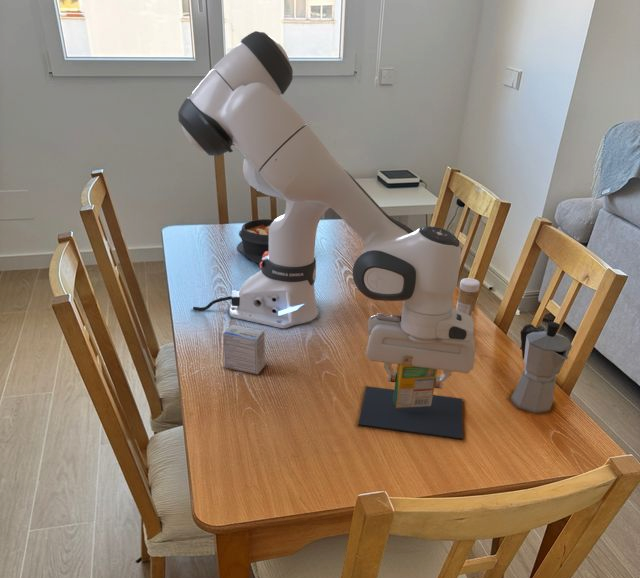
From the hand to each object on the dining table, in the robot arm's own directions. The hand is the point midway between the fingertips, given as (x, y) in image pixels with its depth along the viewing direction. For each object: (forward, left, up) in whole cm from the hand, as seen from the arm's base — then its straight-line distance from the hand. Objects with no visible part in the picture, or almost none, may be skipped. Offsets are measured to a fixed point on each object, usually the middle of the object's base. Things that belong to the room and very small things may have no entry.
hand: (415, 383), depth 122 cm
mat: (0, 0, -7) cm, 7 cm away
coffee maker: (+24, +11, -7) cm, 28 cm away
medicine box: (-37, +9, -7) cm, 38 cm away
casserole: (-48, +75, -7) cm, 89 cm away
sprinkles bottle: (+10, +38, -7) cm, 40 cm away
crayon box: (0, 0, -5) cm, 5 cm away
